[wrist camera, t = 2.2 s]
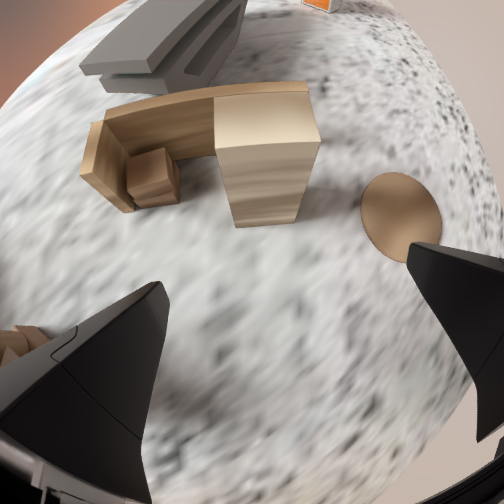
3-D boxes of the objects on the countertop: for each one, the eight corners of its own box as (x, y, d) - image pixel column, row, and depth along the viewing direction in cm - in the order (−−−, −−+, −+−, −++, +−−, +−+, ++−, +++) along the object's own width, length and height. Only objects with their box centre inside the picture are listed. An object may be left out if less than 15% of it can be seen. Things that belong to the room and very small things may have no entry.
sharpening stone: (205, 20, 32) (196, -32, 22) (251, 22, 32) (249, -33, 21) (120, 129, 27) (78, 65, 17) (178, 137, 26) (145, 59, 16)
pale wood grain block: (293, 222, 24) (321, 141, 12) (235, 228, 24) (214, 148, 12) (288, 186, 25) (307, 91, 13) (232, 191, 25) (213, 97, 13)
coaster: (449, 219, 24) (452, 217, 23) (410, 283, 22) (413, 282, 22) (390, 159, 25) (392, 156, 25) (342, 214, 24) (343, 212, 23)
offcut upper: (175, 190, 23) (168, 178, 21) (137, 201, 23) (127, 191, 21) (171, 160, 24) (164, 147, 21) (135, 171, 23) (126, 159, 21)
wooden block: (99, 407, 20) (-46, 466, 3) (29, 353, 21) (-102, 351, 4) (108, 377, 21) (-57, 419, 4) (35, 324, 22) (-102, 307, 5)
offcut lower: (179, 204, 25) (173, 194, 23) (142, 209, 25) (133, 200, 23) (180, 171, 26) (174, 160, 24) (144, 177, 26) (136, 166, 24)
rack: (305, 192, 24) (323, 141, 17) (123, 212, 25) (79, 175, 17) (295, 138, 26) (305, 81, 18) (129, 159, 26) (94, 113, 18)
